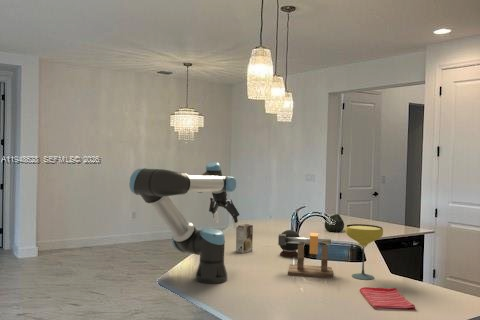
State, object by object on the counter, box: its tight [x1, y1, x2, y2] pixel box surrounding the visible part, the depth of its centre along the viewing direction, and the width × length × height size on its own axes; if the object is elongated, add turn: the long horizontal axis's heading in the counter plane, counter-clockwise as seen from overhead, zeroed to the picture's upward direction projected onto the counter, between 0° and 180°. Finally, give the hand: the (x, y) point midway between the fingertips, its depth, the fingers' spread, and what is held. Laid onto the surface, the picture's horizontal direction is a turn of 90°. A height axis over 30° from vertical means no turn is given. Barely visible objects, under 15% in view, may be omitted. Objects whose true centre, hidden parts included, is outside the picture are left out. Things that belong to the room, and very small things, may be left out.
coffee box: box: [235, 223, 254, 254], centre depth 275 cm, size 9×6×16 cm
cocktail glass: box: [345, 223, 384, 281], centre depth 222 cm, size 18×18×25 cm
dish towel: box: [359, 286, 417, 312], centre depth 187 cm, size 17×24×3 cm
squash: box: [324, 213, 345, 233], centre depth 355 cm, size 14×15×15 cm
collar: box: [309, 232, 319, 255], centre depth 228 cm, size 9×4×9 cm, turn 170°
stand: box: [287, 244, 334, 279], centre depth 229 cm, size 16×22×14 cm
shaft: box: [277, 233, 332, 246], centre depth 229 cm, size 4×26×5 cm, turn 80°
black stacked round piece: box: [279, 229, 301, 258], centre depth 267 cm, size 13×13×15 cm
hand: (226, 225), depth 245 cm, fingers open, 13 cm apart
